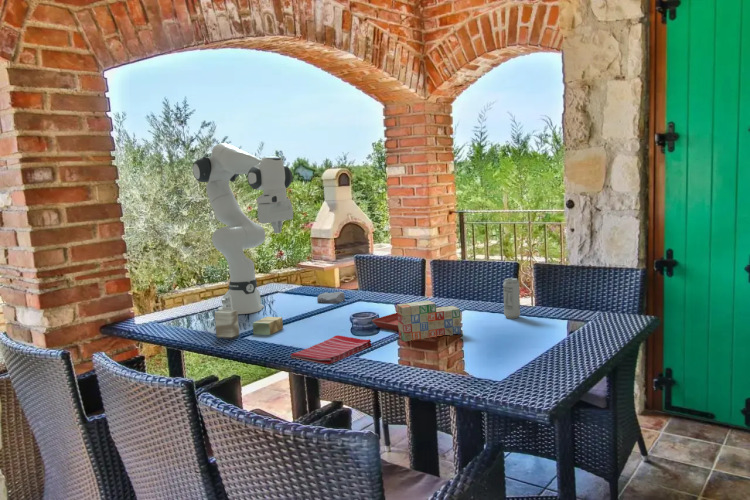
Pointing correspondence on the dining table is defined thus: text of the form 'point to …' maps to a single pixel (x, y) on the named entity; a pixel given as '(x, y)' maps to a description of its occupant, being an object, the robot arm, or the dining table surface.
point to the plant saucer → (387, 322)
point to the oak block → (267, 325)
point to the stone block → (331, 297)
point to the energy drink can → (511, 298)
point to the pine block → (227, 324)
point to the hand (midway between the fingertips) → (277, 232)
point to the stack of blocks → (427, 320)
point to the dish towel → (332, 349)
